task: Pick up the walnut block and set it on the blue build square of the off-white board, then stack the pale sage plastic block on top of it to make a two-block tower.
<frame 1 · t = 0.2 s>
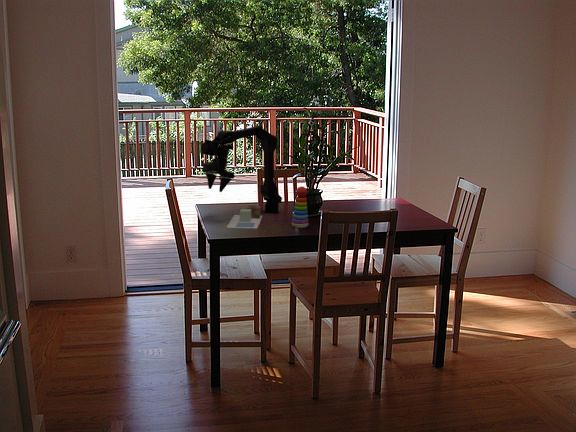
hand: (215, 190, 323), 15 cm above the table, tool pointing down, fingers open, 9 cm apart
stacking toy: (299, 226, 320), on the table
build board: (245, 222, 325), on the table
sage block: (245, 220, 326), point 1 cm above the table, touching build board
walnut block: (253, 217, 334), point 1 cm above the table, touching build board
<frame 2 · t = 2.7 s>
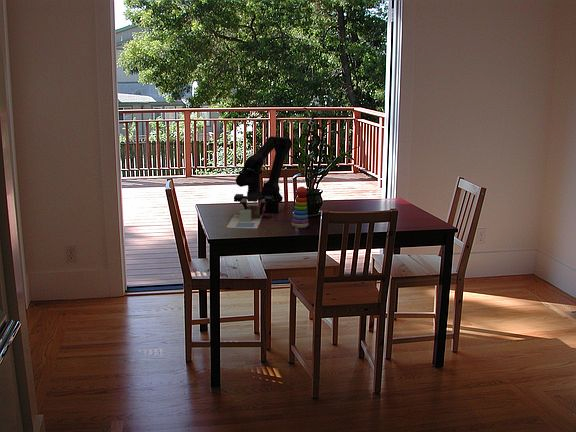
hand: (253, 215, 333), 2 cm above the table, tool pointing down, fingers closed on walnut block, 6 cm apart
walnut block: (253, 217, 334), point 1 cm above the table, touching build board, gripper
everything else where it was.
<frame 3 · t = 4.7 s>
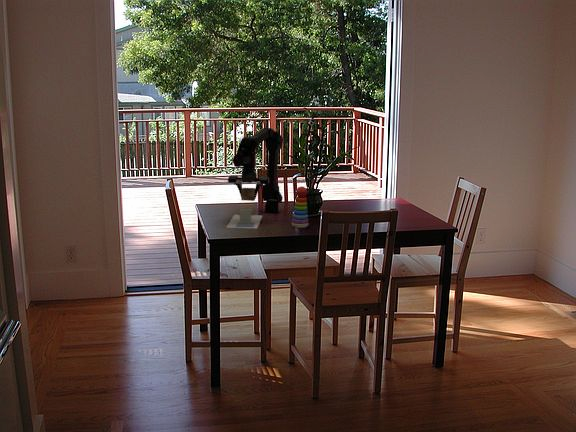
hand: (248, 197, 321), 12 cm above the table, tool pointing down, fingers closed on walnut block, 6 cm apart
walnut block: (248, 199, 322), point 11 cm above the table, touching gripper
everything else where it was.
when the fingers open (3 cm above the table, at t = 7.2 s): walnut block drops 2 cm, resting on build board.
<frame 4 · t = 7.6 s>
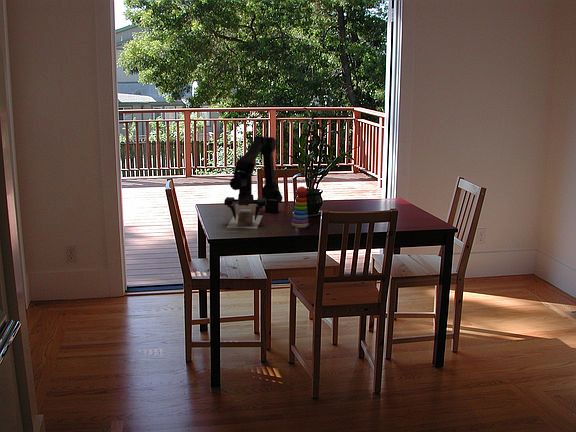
hand: (245, 219, 317), 3 cm above the table, tool pointing down, fingers open, 9 cm apart
walnut block: (245, 224, 317), point 1 cm above the table, touching build board
everything else where it was.
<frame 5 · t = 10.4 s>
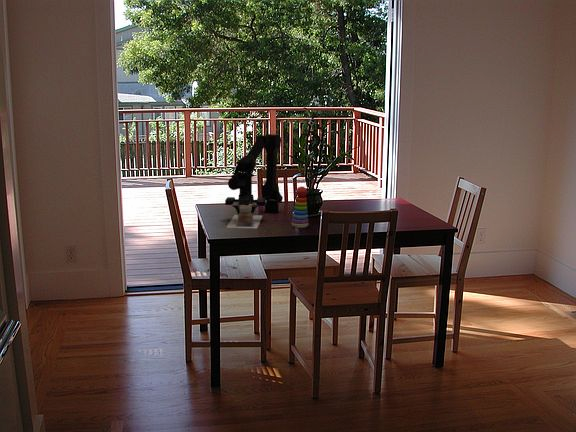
hand: (245, 219, 326), 1 cm above the table, tool pointing down, fingers closed on sage block, 5 cm apart
sage block: (245, 220, 326), point 1 cm above the table, touching build board, gripper
everything else where it was.
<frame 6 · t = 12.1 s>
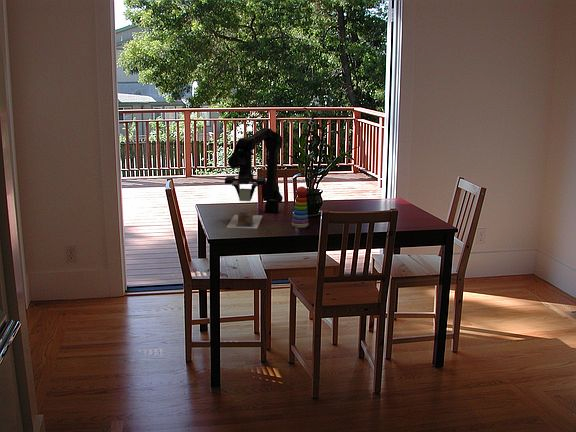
hand: (245, 198, 322), 12 cm above the table, tool pointing down, fingers closed on sage block, 5 cm apart
sage block: (245, 200, 322), point 11 cm above the table, touching gripper
everything else where it was.
when the fingers open (8 cm above the table, at t = 13.8 s): sage block drops 1 cm, resting on walnut block.
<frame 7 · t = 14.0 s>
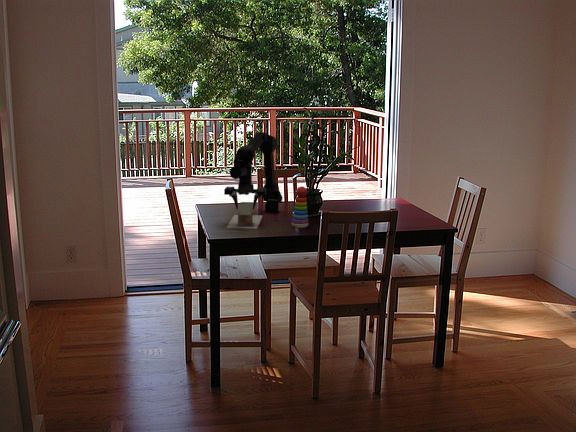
hand: (245, 209, 316), 8 cm above the table, tool pointing down, fingers open, 7 cm apart
sage block: (245, 213, 316), point 6 cm above the table, touching walnut block
walnut block: (245, 224, 317), point 1 cm above the table, touching build board, sage block
everything else where it was.
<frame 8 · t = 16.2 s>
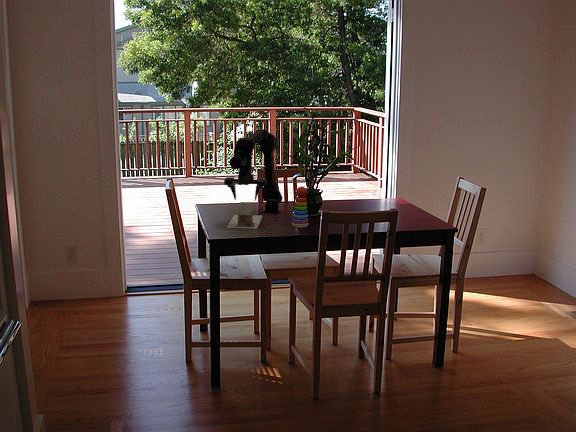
hand: (245, 200, 315), 13 cm above the table, tool pointing down, fingers open, 9 cm apart
nothing on the table moved.
at the end: walnut block 0.0 cm from the target spot, point 1.0 cm above the table; sage block 0.1 cm off-centre on the walnut block, point 5.0 cm above the walnut block's base; sage block tilted 0° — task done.
